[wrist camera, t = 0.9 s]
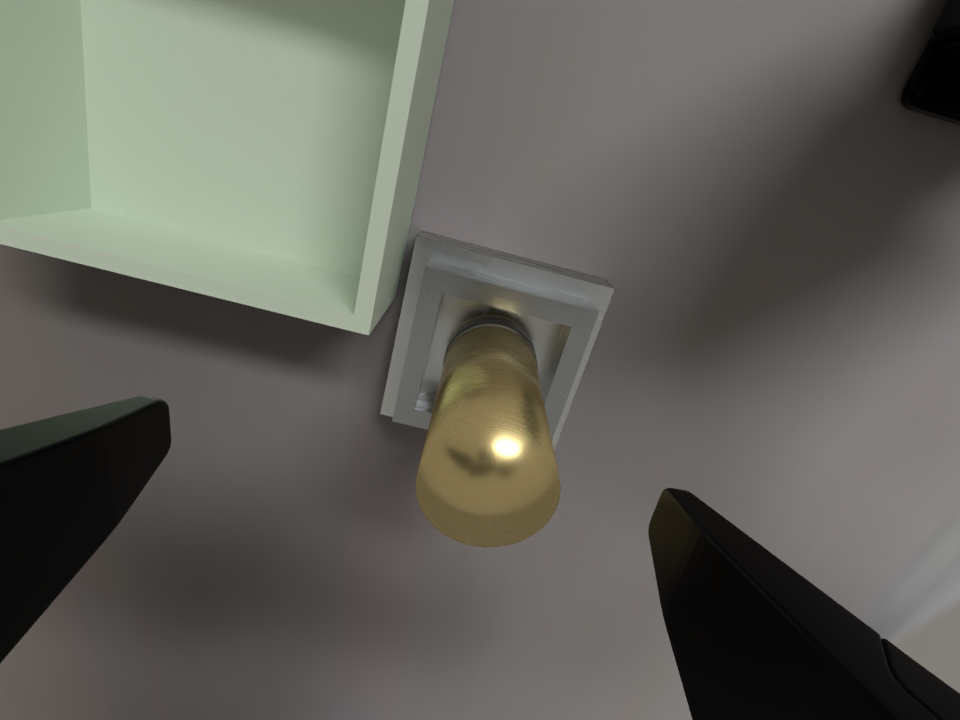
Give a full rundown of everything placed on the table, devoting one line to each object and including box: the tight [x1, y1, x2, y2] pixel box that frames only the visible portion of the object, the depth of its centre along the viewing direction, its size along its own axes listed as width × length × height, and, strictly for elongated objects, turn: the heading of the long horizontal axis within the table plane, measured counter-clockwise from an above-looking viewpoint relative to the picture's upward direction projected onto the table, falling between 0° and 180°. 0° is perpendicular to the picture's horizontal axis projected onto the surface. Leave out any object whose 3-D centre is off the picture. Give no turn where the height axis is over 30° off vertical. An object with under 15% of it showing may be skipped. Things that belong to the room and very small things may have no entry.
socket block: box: [380, 231, 615, 450], centre depth 20 cm, size 8×8×3 cm
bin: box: [0, 0, 454, 335], centre depth 16 cm, size 13×13×5 cm
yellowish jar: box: [416, 314, 560, 547], centre depth 16 cm, size 4×4×9 cm
